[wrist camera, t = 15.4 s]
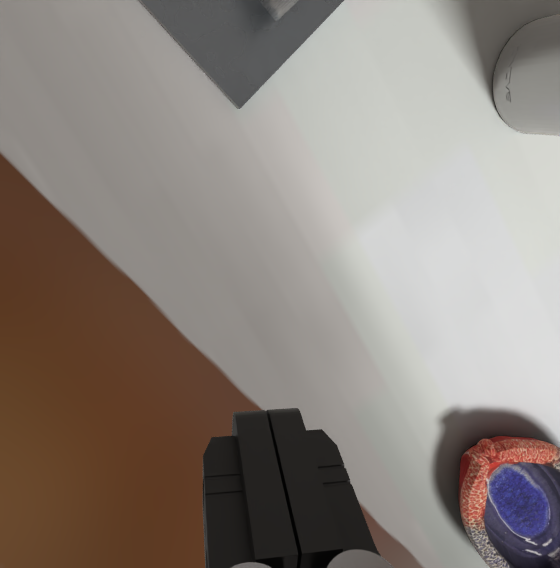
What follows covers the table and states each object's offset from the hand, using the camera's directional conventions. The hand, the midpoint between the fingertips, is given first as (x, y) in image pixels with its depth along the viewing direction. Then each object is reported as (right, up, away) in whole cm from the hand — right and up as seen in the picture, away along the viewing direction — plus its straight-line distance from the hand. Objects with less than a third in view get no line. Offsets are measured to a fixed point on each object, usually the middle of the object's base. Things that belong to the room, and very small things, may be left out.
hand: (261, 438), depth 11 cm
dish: (+29, -23, +48) cm, 61 cm away
